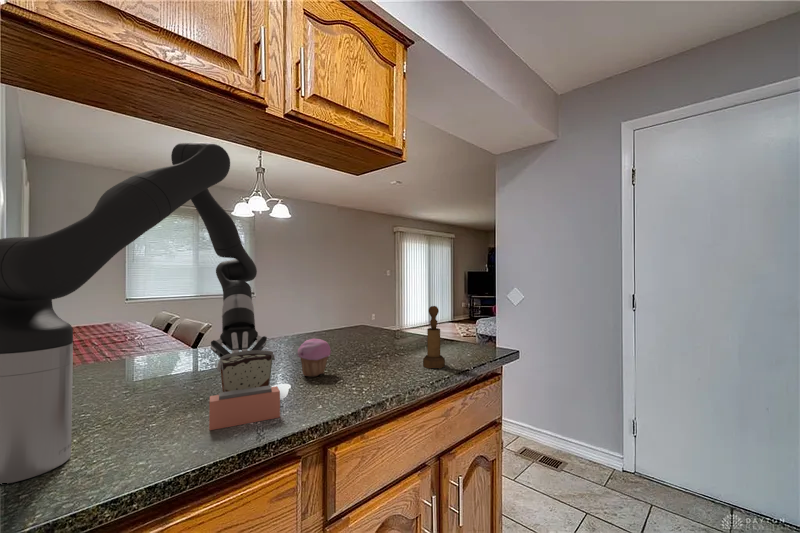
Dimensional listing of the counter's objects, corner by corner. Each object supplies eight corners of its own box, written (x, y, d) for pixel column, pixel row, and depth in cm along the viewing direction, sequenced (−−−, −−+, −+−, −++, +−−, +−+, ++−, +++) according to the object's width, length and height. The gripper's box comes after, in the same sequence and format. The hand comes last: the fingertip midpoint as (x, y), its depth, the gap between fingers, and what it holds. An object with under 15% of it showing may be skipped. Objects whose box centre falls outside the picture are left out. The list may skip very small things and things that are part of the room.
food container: (261, 388, 84) (261, 347, 84) (274, 394, 80) (275, 351, 80) (206, 402, 75) (207, 356, 75) (218, 410, 71) (219, 361, 71)
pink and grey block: (209, 430, 62) (209, 398, 62) (209, 423, 65) (209, 392, 65) (279, 417, 67) (280, 388, 68) (277, 411, 70) (277, 383, 71)
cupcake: (313, 369, 102) (313, 335, 102) (337, 372, 98) (337, 337, 98) (291, 377, 94) (291, 340, 94) (315, 381, 90) (315, 342, 90)
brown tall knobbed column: (438, 370, 100) (438, 307, 101) (419, 367, 104) (418, 306, 104) (448, 365, 106) (447, 305, 106) (429, 362, 109) (429, 304, 110)
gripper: (209, 307, 85) (207, 370, 74) (266, 305, 91) (273, 362, 80) (209, 326, 90) (208, 388, 78) (264, 322, 96) (270, 379, 85)
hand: (241, 375), depth 79 cm, fingers closed
